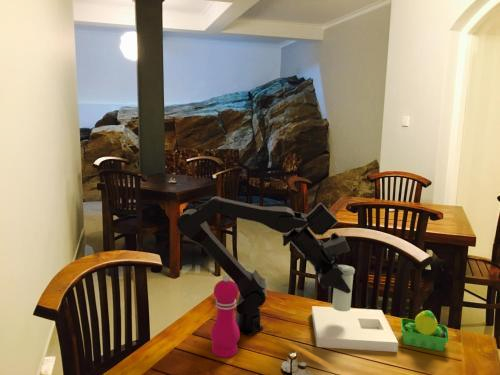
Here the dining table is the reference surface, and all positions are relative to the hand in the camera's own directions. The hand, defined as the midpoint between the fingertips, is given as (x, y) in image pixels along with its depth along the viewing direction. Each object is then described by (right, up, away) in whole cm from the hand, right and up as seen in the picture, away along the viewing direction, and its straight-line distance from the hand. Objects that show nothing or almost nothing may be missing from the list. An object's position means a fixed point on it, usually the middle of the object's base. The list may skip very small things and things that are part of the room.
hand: (348, 288), depth 115 cm
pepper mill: (-32, -14, -7) cm, 36 cm away
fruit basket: (+19, -15, -3) cm, 24 cm away
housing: (+1, -13, +2) cm, 13 cm away
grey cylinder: (-2, -5, +1) cm, 6 cm away
